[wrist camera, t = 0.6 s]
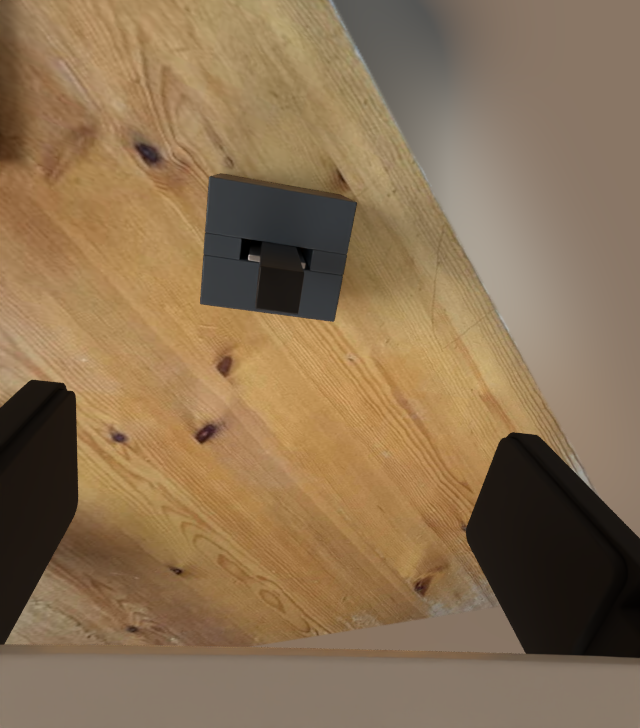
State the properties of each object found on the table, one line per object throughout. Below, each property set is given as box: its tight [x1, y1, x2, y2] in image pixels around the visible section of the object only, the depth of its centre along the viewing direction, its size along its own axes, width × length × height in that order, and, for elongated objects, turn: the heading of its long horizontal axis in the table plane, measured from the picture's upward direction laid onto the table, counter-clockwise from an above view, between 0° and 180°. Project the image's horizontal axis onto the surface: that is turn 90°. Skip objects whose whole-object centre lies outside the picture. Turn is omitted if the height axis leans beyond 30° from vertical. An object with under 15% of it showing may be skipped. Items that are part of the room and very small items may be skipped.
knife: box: [248, 240, 305, 314], centre depth 25 cm, size 2×3×14 cm, turn 80°
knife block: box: [200, 174, 357, 322], centre depth 29 cm, size 7×8×6 cm
